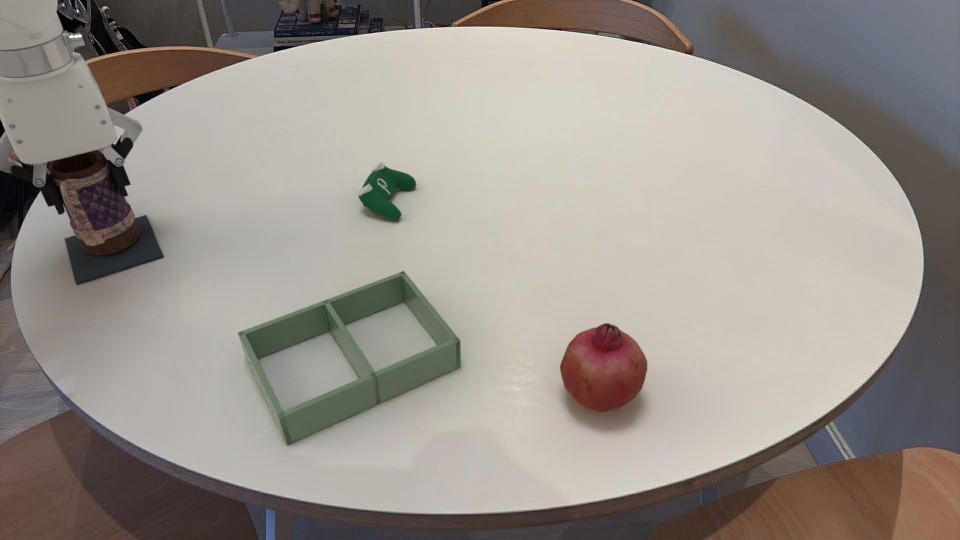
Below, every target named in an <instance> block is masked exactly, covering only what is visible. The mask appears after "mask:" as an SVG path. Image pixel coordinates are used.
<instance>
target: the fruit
mask: <svg viewBox="0 0 960 540" xmlns="http://www.w3.org/2000/svg"><path fill="white" fill-rule="evenodd" d="M559 369H560V370H559V371H560V377H561V380H562V383H563V386H564V389H566V391H567V393H568V394H570V396H571V397H572V398H573V400H574V401H575V402H576V403H578V404H580V406H582V407H584V408H586V409H587V410H590V411H594V412H598V413H601V414H603V413H608V412H612V411H617V410H619V409H621V408H623V407H625V406H627V405H629V403H631V402H632V401H633V400H635V399H636V398H637V396H638V395H639V393H640V392H641V391H642V389H643V387H644V384H645V381H646V377H647V372H648V359H647V357H646V355H645V352H644V351H643V350H642V348H641V346H640V345H639V343H638V341H636V340H635V339H634V338H633V337H632V336H630V335H629V334H628V333H626V332H625V331H623V330H622V329H620V328H619V327H618V326H617V325H614V324H612V323H609V322H605V323H603V324H600V325H598V326H597V327H591V328H589V329H586V330H583V331H581V332H579V333H577V334H576V335H575V336H574V337H573V338H572V339H571V340H570V342H569V343H568V344H567V346H566V349H565V351H564V354H563V356H562V359H561V362H560V365H559Z"/></svg>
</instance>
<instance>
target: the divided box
mask: <svg viewBox="0 0 960 540" xmlns="http://www.w3.org/2000/svg"><path fill="white" fill-rule="evenodd" d="M401 303H405V305H406V306H407V308H408V309H409V310H410V311H411V313H412V314H413V315H414V316H415V318H416V319H417V320H418V321H419V323H420V324H421V325H422V327H423V328H424V330H425V331H426V332H427V333H428V335H429V336H430V337H431V338H432V340H433V341H434V342H435V343H436V345H434V346H432V347H430V348H428V349H425V350H423V351H421V352H418V353H417V354H414V355H412V356H411V355H410V356H409V357H407V358H404V359H402V360H400V361H397V362H395V363H393V364H390V365H388V366H386V367H383V368H381V369H379V370H377V371H375V370H374V368H373V366H372V365H371V364H370V362H369V361H368V359H367V358H366V356H365V354H364V353H363V351H362V350H361V348H360V346H359V345H358V344H357V342H356V341H355V338H354V337H353V336H352V334H351V333H350V331H349V329H348V328H347V327H346V325H348V324H350V323H352V322H355V321H358V320H361V319H363V318H365V317H368V316H370V315H373V314H376V313H378V312H382V311H384V310H386V309H389V308H391V307H394V306H396V305H398V304H401ZM327 332H330V334H331V335H332V337H333V338H334V340H335V342H336V343H337V345H338V346H339V349H340V350H341V352H342V353H343V355H344V356H345V358H346V359H347V361H348V362H349V364H350V366H351V368H352V369H353V371H354V372H355V373H356V375H357V377H358V379H356V380H353V381H351V382H348V383H346V384H343V385H342V386H339V387H337V388H334V389H332V390H330V391H328V392H325V393H323V394H321V395H318V396H316V397H313V398H311V399H309V400H306V401H304V402H301V403H300V404H297V405H294V406H292V407H290V408H288V409H286V410H283V408H282V406H281V404H280V401H279V400H278V398H277V396H276V394H275V391H274V389H273V387H272V386H271V383H270V381H269V380H268V377H267V375H266V374H265V371H264V369H263V368H262V365H261V362H260V361H259V359H260V358H263V357H266V356H269V355H271V354H274V353H276V352H278V351H281V350H284V349H287V348H289V347H291V346H294V345H296V344H297V345H298V344H299V343H301V342H304V341H307V340H310V339H312V338H314V337H318V336H319V335H322V334H325V333H327ZM237 335H238V338H239V341H240V344H241V347H242V350H243V354H244V357H245V360H246V362H247V365H248V366H249V368H250V370H251V372H252V375H253V377H254V379H255V381H256V383H257V385H258V387H259V390H260V391H261V394H262V396H263V398H264V400H265V402H266V404H267V406H268V408H269V411H270V413H271V415H272V417H273V419H274V420H275V424H276V425H277V427H278V430H279V431H280V434H281V436H282V438H283V441H284V442H285V444H286V446H290V445H291V444H293V443H294V442H297V441H299V440H302V439H304V438H306V437H309V436H310V435H313V434H315V433H317V432H319V431H322V430H324V429H326V428H329V427H332V426H333V425H335V424H337V423H340V422H342V421H344V420H347V419H349V418H351V417H353V416H355V415H357V414H359V413H362V412H365V411H366V410H369V409H370V408H373V407H375V406H377V405H380V404H382V403H384V402H386V401H388V400H390V399H391V400H392V399H393V398H395V397H398V396H400V395H403V394H405V393H407V392H409V391H411V390H413V389H416V388H417V387H418V388H419V387H420V386H422V385H424V384H427V383H428V382H431V381H433V380H435V379H438V378H440V377H442V376H444V375H446V374H449V373H451V372H453V371H455V370H457V369H460V368H462V352H461V351H462V350H461V349H462V348H461V347H462V346H461V339H460V338H459V337H458V336H457V334H456V333H455V332H454V331H453V330H452V328H451V327H450V326H449V324H448V323H447V322H446V321H445V319H444V318H443V317H442V316H441V315H440V314H439V312H438V311H437V309H436V308H435V307H434V306H433V305H432V303H431V302H430V301H429V300H428V299H427V298H426V296H425V295H424V294H423V292H422V291H421V290H420V288H418V286H417V285H416V283H414V282H413V280H412V279H411V278H410V276H409V275H408V274H407V273H406V271H405V270H402V271H400V272H397V273H394V274H391V275H389V276H386V277H384V278H381V279H377V280H376V281H373V282H370V283H367V284H365V285H362V286H360V287H357V288H354V289H352V290H349V291H346V292H344V293H340V294H338V295H335V296H331V297H330V298H327V299H325V300H321V301H319V302H316V303H313V304H311V305H308V306H306V307H302V308H300V309H298V310H295V311H292V312H290V313H286V314H284V315H282V316H278V317H276V318H274V319H270V320H269V321H266V322H262V323H260V324H258V325H255V326H252V327H249V328H246V329H244V330H242V331H239V332H237Z"/></svg>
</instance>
